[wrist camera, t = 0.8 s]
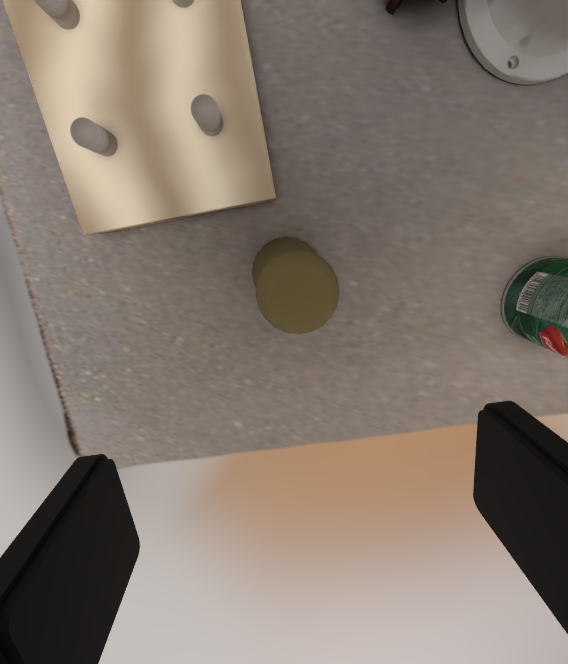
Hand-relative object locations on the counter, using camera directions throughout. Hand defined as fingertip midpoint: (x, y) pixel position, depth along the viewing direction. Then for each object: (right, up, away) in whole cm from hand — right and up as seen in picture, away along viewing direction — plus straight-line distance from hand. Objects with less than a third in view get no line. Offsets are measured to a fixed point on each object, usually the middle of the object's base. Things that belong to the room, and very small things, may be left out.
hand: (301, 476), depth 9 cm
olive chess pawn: (0, +9, +22) cm, 24 cm away
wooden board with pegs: (-10, +22, +18) cm, 30 cm away
